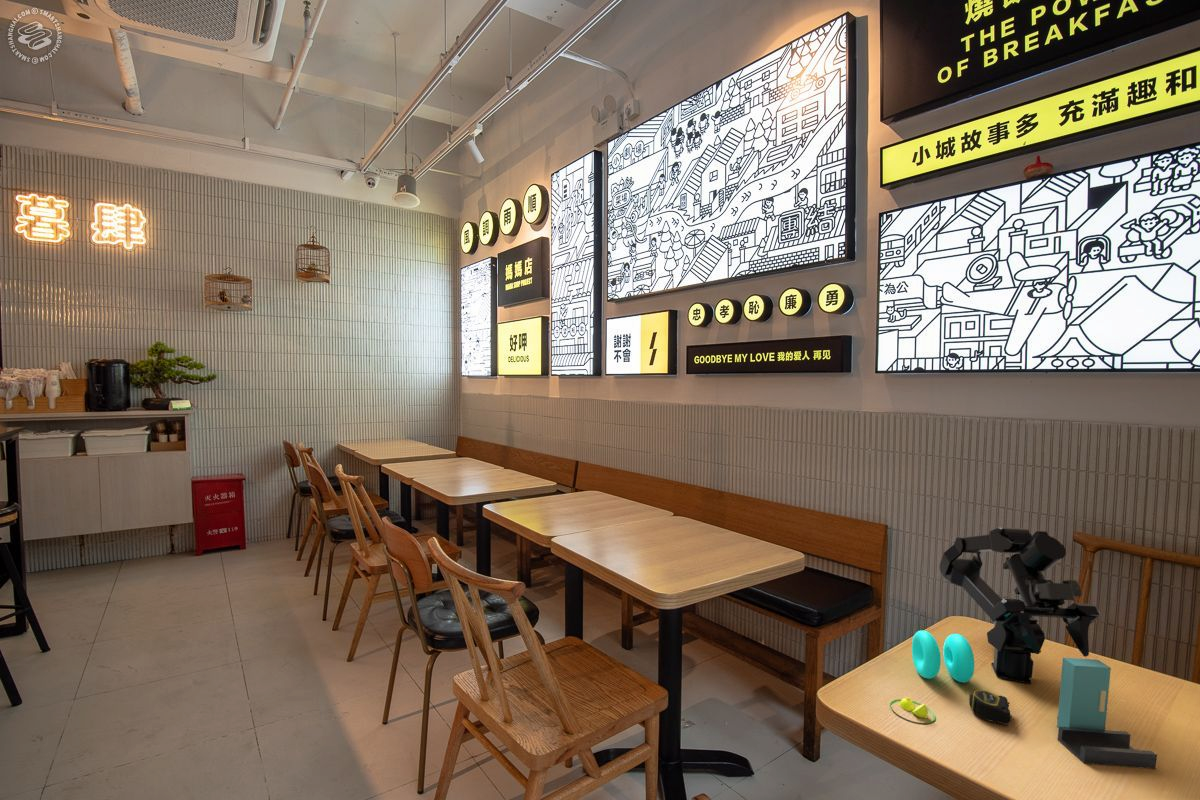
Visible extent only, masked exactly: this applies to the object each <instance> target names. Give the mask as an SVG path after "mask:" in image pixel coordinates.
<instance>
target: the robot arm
mask: <svg viewBox="0 0 1200 800" xmlns="http://www.w3.org/2000/svg"><path fill="white" fill-rule="evenodd" d="M1066 551H1067V550H1066V548H1065V546H1064V545H1063V544H1062V543H1061V541H1059V540H1058V539H1056V538H1055V537H1053V536H1050V535H1049V533H1048V532H1047V531H1046V530H1045V531H1044V530H1036V531H1035V532H1034V533H1033V534H1032V533H1030V530H1029V529H1027V528H1020V527H1017V528H1016V527H995V528H994V529H993V528H992V529H991V530H990V531H988V534H981V535H980V534H979V535H971V536H959V537H956V538H955V540H954V542H953V545H951V547H949V548H948V549H947V550H945V552H943V554H942V557H941V559H940V562H939V573H941V574H942V576H943V578H944V579H945V580H947V581H948V582H949V583H950V584H953V585H956V586H957V587H960V588H962V589H963V590H964V591H965V592H966V593H967V594H968V595H969V596H970V598H972V600H973V601H974V602H975V603H976V604H977V605H978V606H979V607H980V608H981V610H983V611H984V613H985V615H987V616H988V617H989V618H990V619H991V621H992V622H993V628H991V629H989V630H988V631H987V632H986V636H987V637H986V638H987V643H988V644H990V645H991V646H992V647H994V652H993V654H994V655H993V662H991V663H990V665H991V667H992V669H993V672H994V674H995V676H996V677H997V678H999V679H1003V680H1004V679H1005V680H1010V681H1015V682H1019V683H1025V684H1028V685H1031V684H1032V680H1031V679H1032V678H1033V673H1034V671H1033V669H1034V660H1033V658H1032V654H1035V655H1039V654H1040V653H1042V647H1043V645H1044V642H1045V639H1046V636H1045V633H1044V630H1043V629H1042V627H1041V625H1040V624H1038V621H1039V620H1038V619H1036V618H1034V617H1039V618H1040V617H1042V618H1043V617H1044V618H1058V619H1059V618H1060V619H1062V620H1063V622H1064V623H1065V624H1067V625H1066V626H1065V629H1066V631H1067V632H1068V634H1069V635H1070V637H1071V639H1072V641H1073V642H1074V644H1075V645H1076V648H1077V649H1078V651H1079V652H1080V653H1081V654H1082V656H1083V657H1088V656H1090V651H1089V650H1090V649H1089V647H1090V646H1089V627H1090V625H1091V624H1093V623H1094V622H1096V620H1097V619H1099V618H1101V617H1102V616H1101V613H1100V612H1099V609H1098V608H1097V606H1095V605H1093V604H1092V603H1084V602H1083V603H1082V602H1074V601H1076V597H1082V595H1083V593H1082V588H1081V586H1080V584H1079V582H1078V581H1077V580H1071V579H1067V580H1063V581H1062V583H1059V582H1054V581H1052V579H1047V578H1046V576H1045V573H1044V572H1045V571H1046V572H1047V571H1049V570H1050V569H1051V568H1052V567H1054V566H1055V565H1057V564H1058V563H1059V562H1060V561H1061V560H1063V558H1065V556H1066V554H1067V552H1066ZM981 552H996V553H1001V554H1012V556H1010V557H1005V561H1004V562H1003V564H1002V569H1003V570H1009V571H1010V573H1011V576H1012V578H1013V581H1014V584H1015V586H1016V587H1015V588H1014V592H1015V595H1020V597H1021V599H1015V598H1014V599H1013V598H1012V599H1011V598H1002V597H1000V596H999V595H998V593H996V592H995V590H993V589H992V588H991V587H990V586H989V584H988V583H987V582H986V581H985V580H983V578H982V577H981V569H982V566H983V560H982V559H981V556H980V555H981ZM963 553H969V554H973V556H972V558H968V557H967V558H966V557H961V556H962V554H963ZM1065 601H1073V603H1071V604H1070V605H1069V606H1067V607H1066V608H1063V607H1060V606H1064V605H1065V603H1066V602H1065Z"/></svg>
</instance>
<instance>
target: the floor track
mask: <svg viewBox="0 0 1200 800" xmlns="http://www.w3.org/2000/svg"><path fill="white" fill-rule="evenodd" d="M1057 741H1058V742H1060V744H1062V746H1064V747H1065V748H1066V749H1067V750H1069V752H1070V753H1072V754H1073V755H1074V757H1076V758H1077V759H1078V760H1079V761H1081V763H1083V764H1089V765H1100V766H1111V767H1112V766H1115V767H1126V768H1138V769H1154V770H1156V768H1157V760H1158V759H1157V758H1158V754H1157V753H1156V752H1154V751H1153V750H1144V749H1143V750H1142V749H1136V748H1134V747H1133V746H1131V734H1130V733H1129V732H1128V731H1125V730H1115V729H1114V730H1112V729H1105V730H1100V729H1087V728H1073V727H1059V728H1058V730H1057Z"/></svg>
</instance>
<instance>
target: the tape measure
mask: <svg viewBox="0 0 1200 800" xmlns="http://www.w3.org/2000/svg"><path fill="white" fill-rule="evenodd" d="M968 701H969V702H968V704H969V707H970V709H971V710H972V712H973V713H974V714H975V715H976V716H978V717H980V718H981V719H984V720H986V721H989V722H994V723H999V724H1005V725H1009V724H1010V723H1011V719H1012V715H1011V712H1010V708H1009V707H1010V702H1009V700H1008V698H1007V697H1006V696H1004V695H998V694H995V693H994V692H990V691H987V690H981V689H977V690H973V691H972V692H971V693H970V694H969V700H968Z"/></svg>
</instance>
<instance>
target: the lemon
mask: <svg viewBox="0 0 1200 800" xmlns="http://www.w3.org/2000/svg"><path fill="white" fill-rule="evenodd" d="M897 701H898V702H899V704H898V705H899V707H900V708H901V709H903V710H904V711H907V712H911V713H912V714H914V715H915V716H917V718H922V719H923V718H924V719H928V713H930V714H931V715H932V720H931V721H929V722H927V724H929V723H933V722H934V721H935V720H936V715H935V713H934V712H933V711H932V710H931V709H930V708H928V706H926V704H925V703H922V704H921V703H919V702H917V701H913V700H912V699H910V697H909V696H907V697H904V698H901V699H894V700H892V701H891V702H890V708H891V710H892V711H893V710H894V709H892V708H893V705H892V704H895V703H898V702H897ZM891 705H892V707H891ZM915 705H918V706H915ZM896 715H897V716H899V714H898V713H897V714H896ZM916 723H919V722H916Z"/></svg>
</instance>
